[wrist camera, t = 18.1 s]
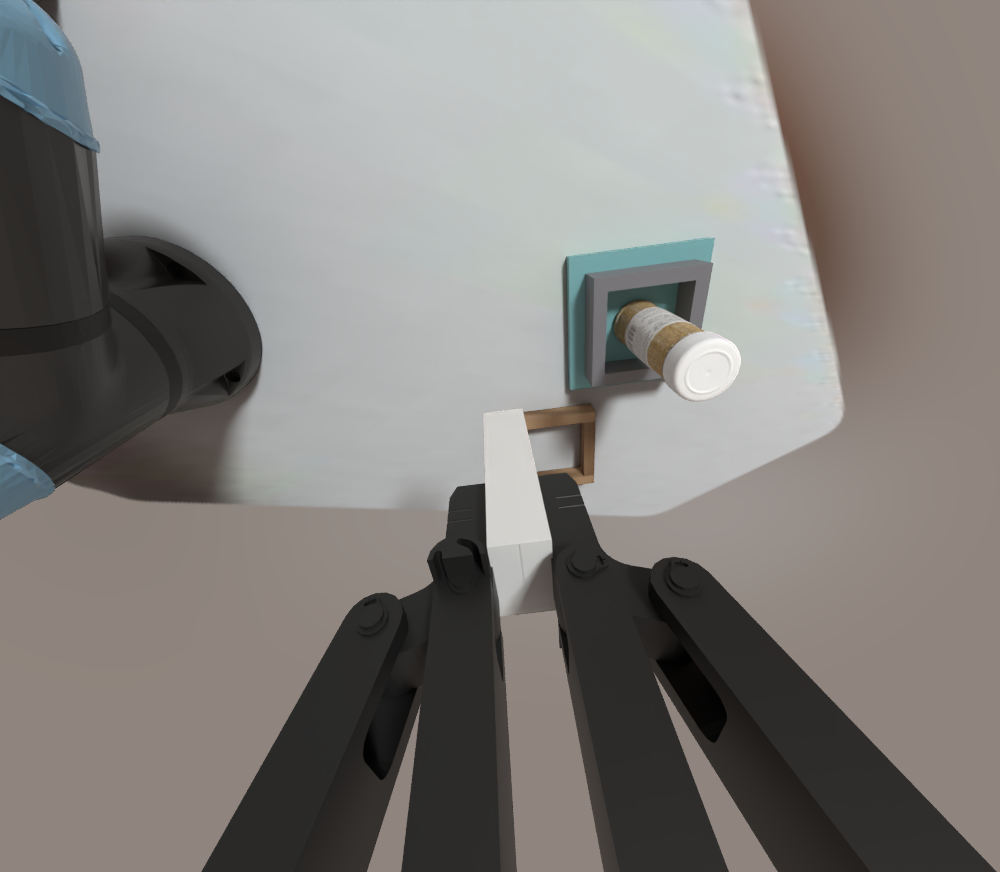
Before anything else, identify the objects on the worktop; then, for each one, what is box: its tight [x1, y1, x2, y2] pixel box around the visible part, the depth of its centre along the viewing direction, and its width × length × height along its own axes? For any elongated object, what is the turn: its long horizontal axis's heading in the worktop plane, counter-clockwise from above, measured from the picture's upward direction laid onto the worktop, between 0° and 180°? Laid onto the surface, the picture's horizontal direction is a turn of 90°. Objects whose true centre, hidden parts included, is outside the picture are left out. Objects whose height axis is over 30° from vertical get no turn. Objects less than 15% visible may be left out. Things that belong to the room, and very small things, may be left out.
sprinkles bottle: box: [614, 299, 741, 401], centre depth 30 cm, size 5×5×13 cm
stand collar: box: [523, 404, 596, 485], centre depth 43 cm, size 10×10×2 cm
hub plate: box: [566, 238, 715, 390], centre depth 35 cm, size 13×13×4 cm
